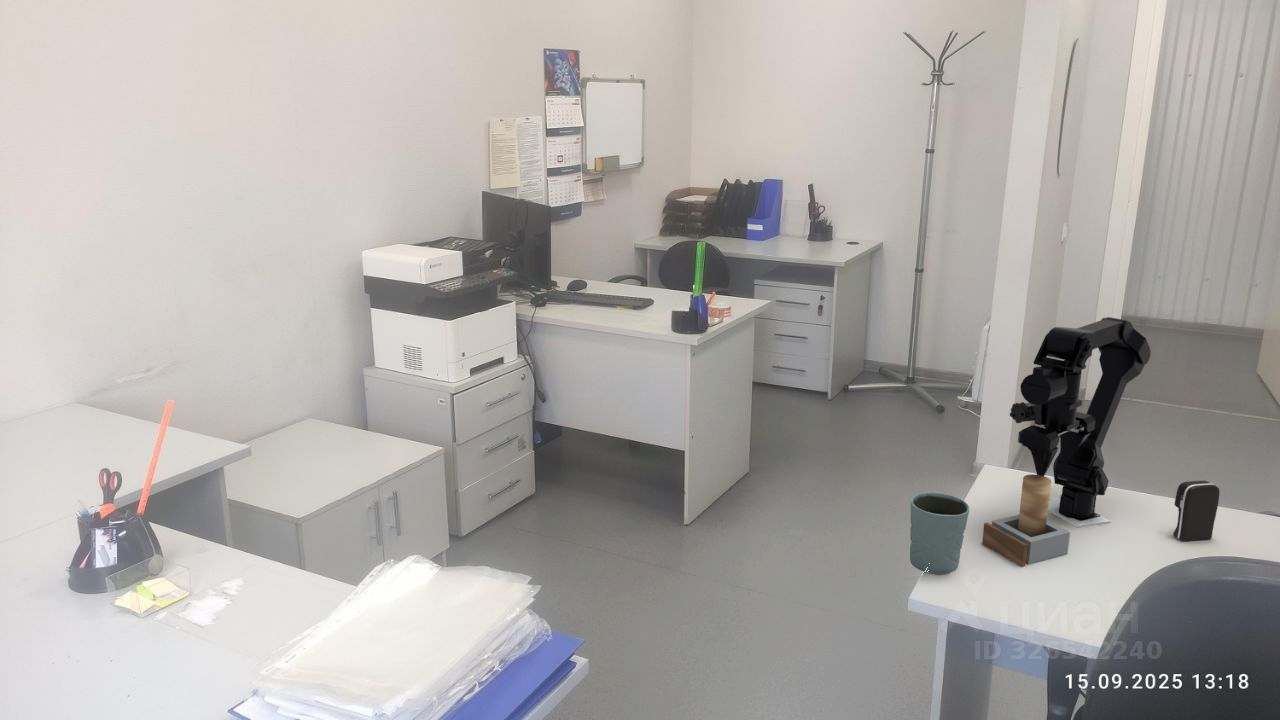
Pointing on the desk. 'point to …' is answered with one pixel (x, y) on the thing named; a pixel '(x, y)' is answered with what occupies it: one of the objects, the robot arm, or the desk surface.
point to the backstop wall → (1005, 544)
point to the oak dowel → (1034, 505)
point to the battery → (1196, 510)
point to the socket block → (1037, 539)
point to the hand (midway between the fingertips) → (1052, 471)
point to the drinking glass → (937, 531)
